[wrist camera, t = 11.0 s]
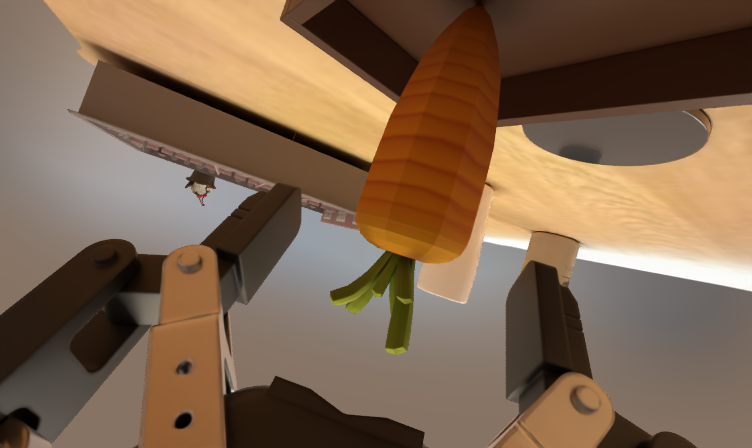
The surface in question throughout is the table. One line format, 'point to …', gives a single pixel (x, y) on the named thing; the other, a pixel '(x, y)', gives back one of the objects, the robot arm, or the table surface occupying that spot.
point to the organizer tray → (218, 143)
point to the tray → (555, 51)
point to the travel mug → (553, 253)
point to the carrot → (429, 168)
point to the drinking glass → (459, 261)
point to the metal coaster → (624, 138)
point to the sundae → (201, 184)
